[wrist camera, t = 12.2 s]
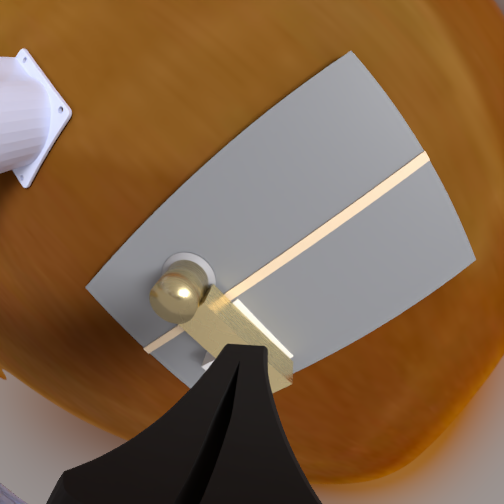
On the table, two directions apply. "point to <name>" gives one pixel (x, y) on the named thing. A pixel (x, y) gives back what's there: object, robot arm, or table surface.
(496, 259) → the table surface
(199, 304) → the bar
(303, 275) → the lock board
